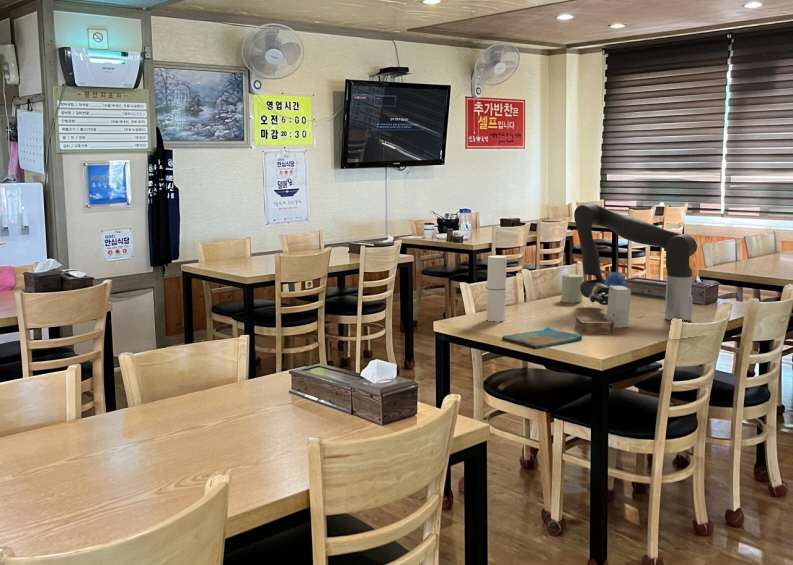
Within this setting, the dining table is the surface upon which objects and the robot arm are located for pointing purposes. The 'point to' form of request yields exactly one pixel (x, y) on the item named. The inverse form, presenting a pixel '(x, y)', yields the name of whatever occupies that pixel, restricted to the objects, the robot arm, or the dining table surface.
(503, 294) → the cylindrical container
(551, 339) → the dish towel
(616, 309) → the skincare box
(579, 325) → the bracket
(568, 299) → the can
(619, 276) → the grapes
